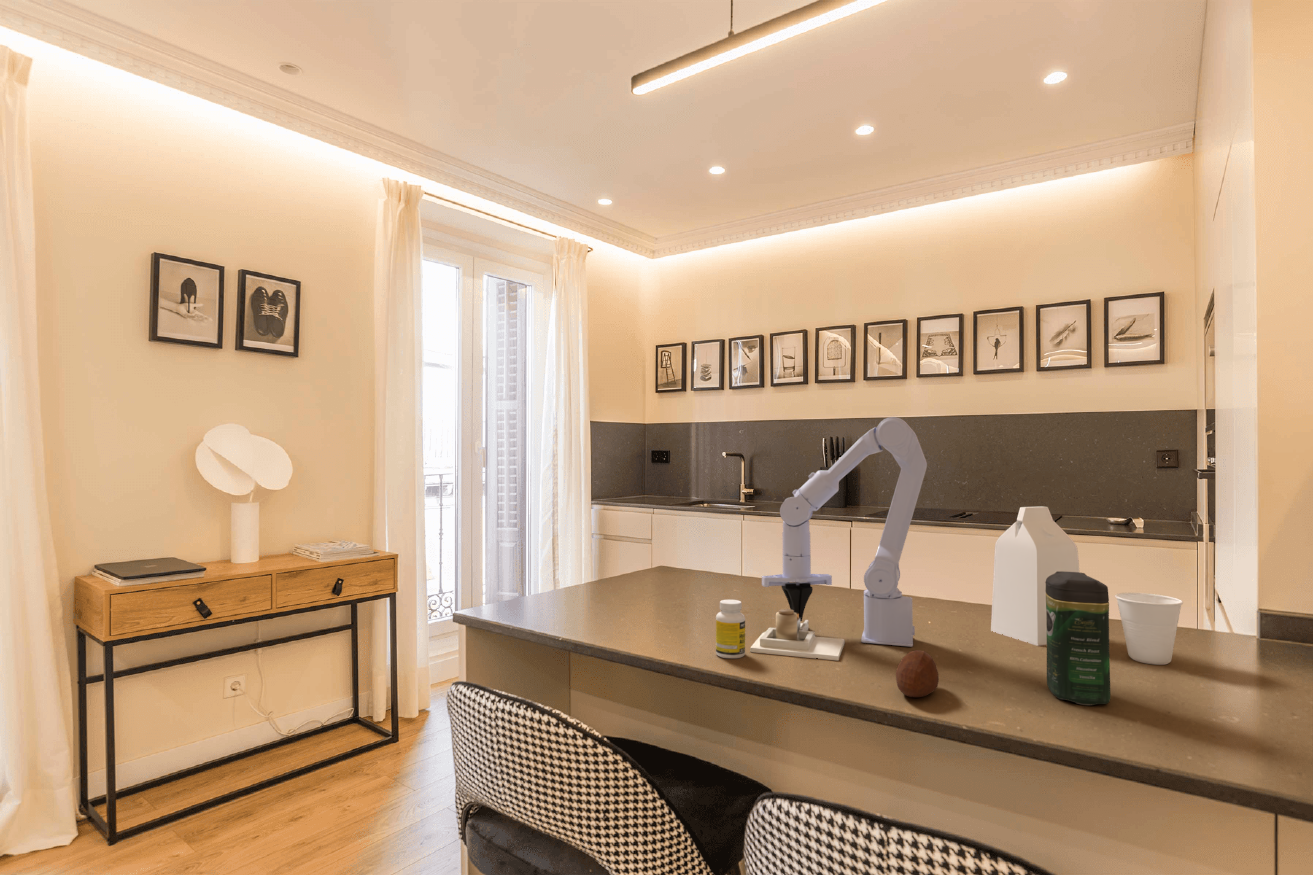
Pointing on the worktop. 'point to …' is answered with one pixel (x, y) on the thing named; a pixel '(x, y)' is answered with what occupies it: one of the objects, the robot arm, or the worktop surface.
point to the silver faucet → (798, 623)
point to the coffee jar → (1078, 638)
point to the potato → (917, 674)
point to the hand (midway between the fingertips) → (797, 620)
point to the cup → (1149, 625)
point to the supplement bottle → (730, 630)
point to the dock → (799, 645)
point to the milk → (1028, 573)
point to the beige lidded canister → (786, 624)
